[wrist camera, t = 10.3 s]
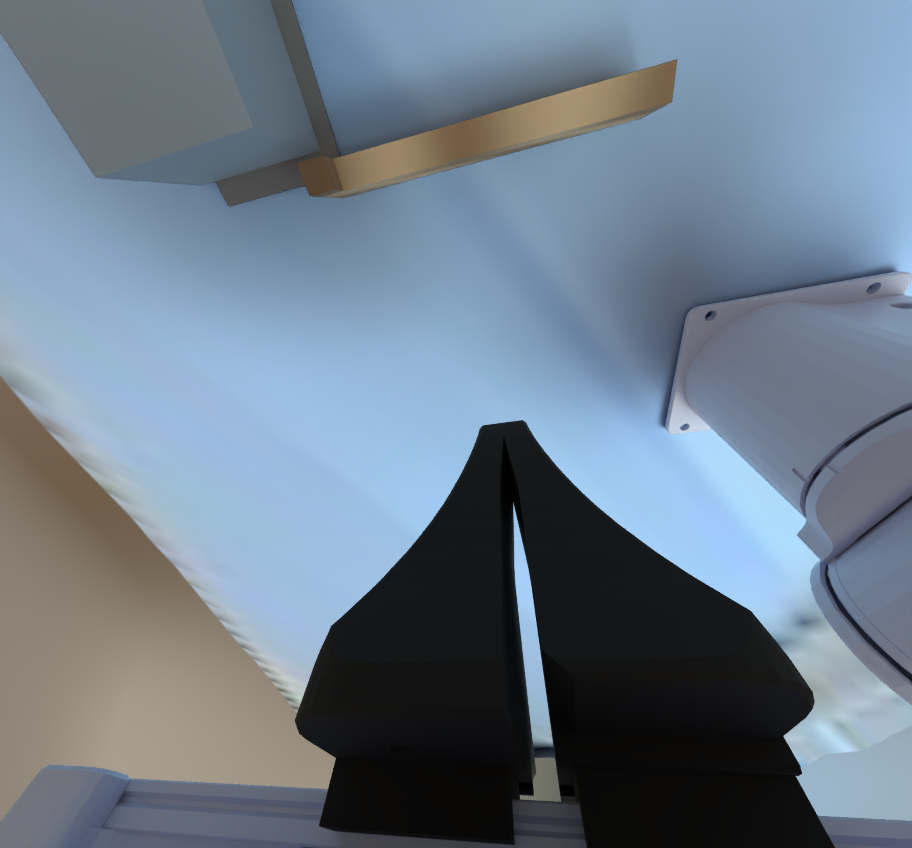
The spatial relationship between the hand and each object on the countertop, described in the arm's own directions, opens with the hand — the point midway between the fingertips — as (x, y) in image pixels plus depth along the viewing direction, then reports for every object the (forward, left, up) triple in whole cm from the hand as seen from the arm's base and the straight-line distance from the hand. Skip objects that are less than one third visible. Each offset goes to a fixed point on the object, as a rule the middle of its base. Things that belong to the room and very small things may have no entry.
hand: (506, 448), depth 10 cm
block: (+9, -12, -10) cm, 18 cm away
